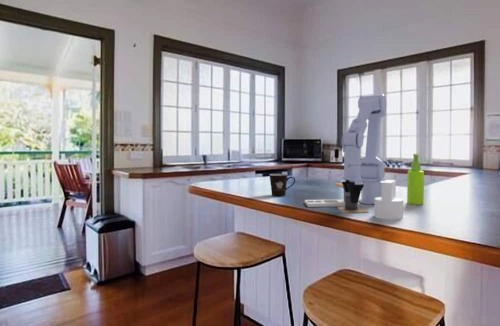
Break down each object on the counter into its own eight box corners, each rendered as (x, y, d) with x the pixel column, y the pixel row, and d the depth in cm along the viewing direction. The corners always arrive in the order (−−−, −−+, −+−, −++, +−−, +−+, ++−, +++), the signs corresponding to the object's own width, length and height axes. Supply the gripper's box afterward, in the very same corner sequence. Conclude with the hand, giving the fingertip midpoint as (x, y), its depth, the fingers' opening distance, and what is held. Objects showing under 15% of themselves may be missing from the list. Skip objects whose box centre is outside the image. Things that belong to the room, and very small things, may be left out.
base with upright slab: (400, 221, 107) (401, 183, 106) (371, 217, 112) (371, 182, 111) (404, 215, 115) (405, 180, 114) (377, 212, 119) (377, 179, 119)
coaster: (360, 207, 129) (360, 206, 129) (368, 212, 120) (368, 211, 120) (336, 208, 129) (336, 207, 129) (343, 213, 120) (343, 211, 120)
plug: (356, 207, 127) (356, 191, 126) (359, 210, 122) (360, 194, 121) (342, 207, 127) (342, 191, 127) (345, 210, 122) (345, 194, 122)
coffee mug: (267, 196, 159) (266, 175, 158) (272, 193, 167) (272, 173, 166) (291, 197, 154) (290, 175, 154) (295, 194, 162) (295, 174, 162)
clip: (350, 188, 135) (350, 186, 135) (344, 189, 134) (344, 186, 134) (339, 184, 147) (339, 182, 147) (333, 185, 147) (333, 182, 147)
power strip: (352, 202, 141) (352, 187, 140) (359, 206, 132) (359, 190, 131) (304, 202, 141) (304, 188, 140) (308, 206, 132) (308, 191, 131)
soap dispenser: (422, 202, 138) (423, 153, 137) (423, 205, 132) (424, 154, 130) (407, 201, 140) (407, 153, 139) (407, 204, 134) (407, 154, 133)
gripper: (336, 163, 130) (336, 198, 131) (346, 166, 116) (346, 205, 117) (354, 163, 130) (354, 198, 131) (367, 166, 116) (367, 205, 117)
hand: (352, 201), depth 124 cm, fingers open, 5 cm apart
